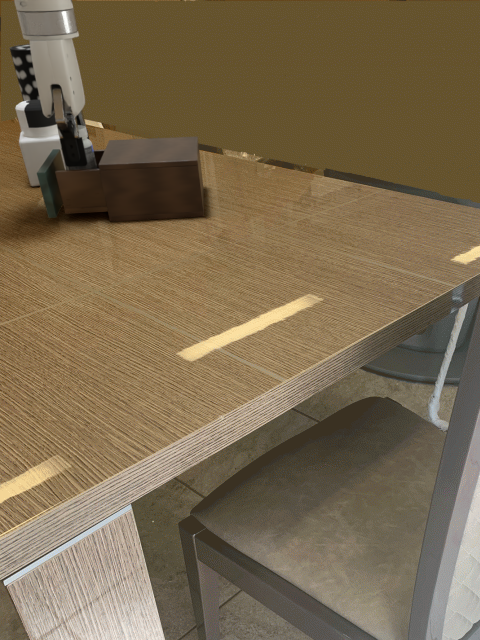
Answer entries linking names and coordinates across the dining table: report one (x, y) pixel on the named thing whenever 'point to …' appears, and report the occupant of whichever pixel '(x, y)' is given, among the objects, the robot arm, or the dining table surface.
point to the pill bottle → (88, 150)
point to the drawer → (71, 186)
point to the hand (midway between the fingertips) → (79, 159)
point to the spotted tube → (25, 71)
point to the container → (36, 137)
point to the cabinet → (152, 179)
